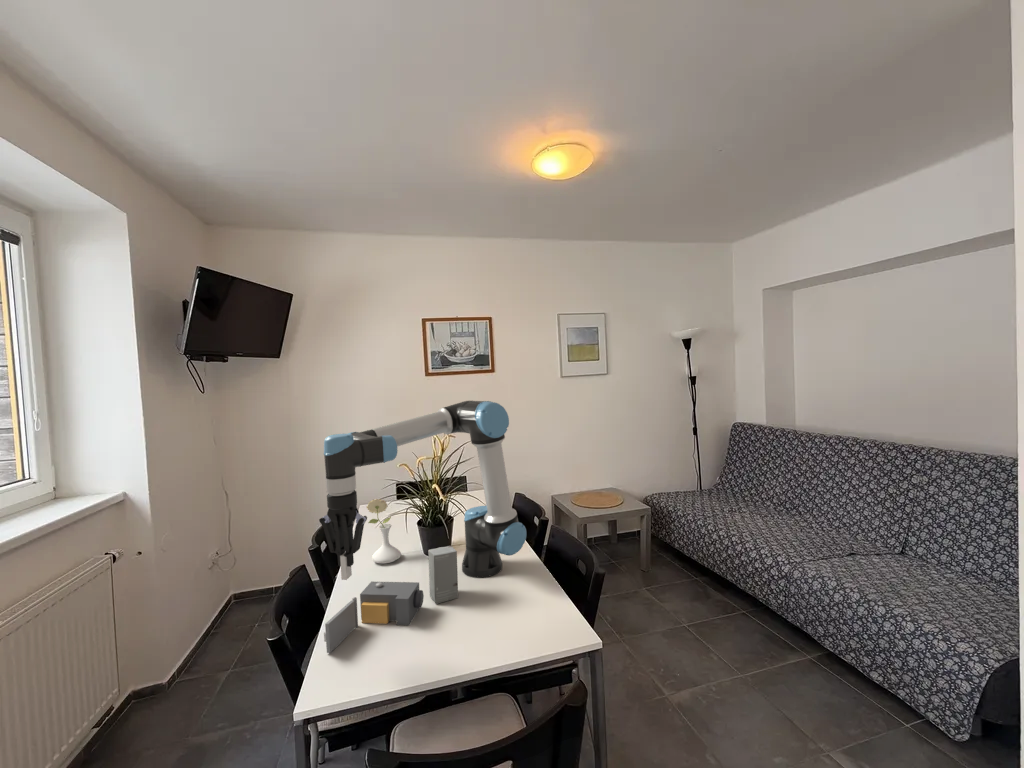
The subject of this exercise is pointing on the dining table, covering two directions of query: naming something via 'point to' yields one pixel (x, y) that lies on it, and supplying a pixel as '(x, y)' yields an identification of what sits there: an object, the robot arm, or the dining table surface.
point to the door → (339, 626)
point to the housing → (389, 602)
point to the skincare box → (443, 574)
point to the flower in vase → (383, 534)
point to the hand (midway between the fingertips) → (346, 577)
